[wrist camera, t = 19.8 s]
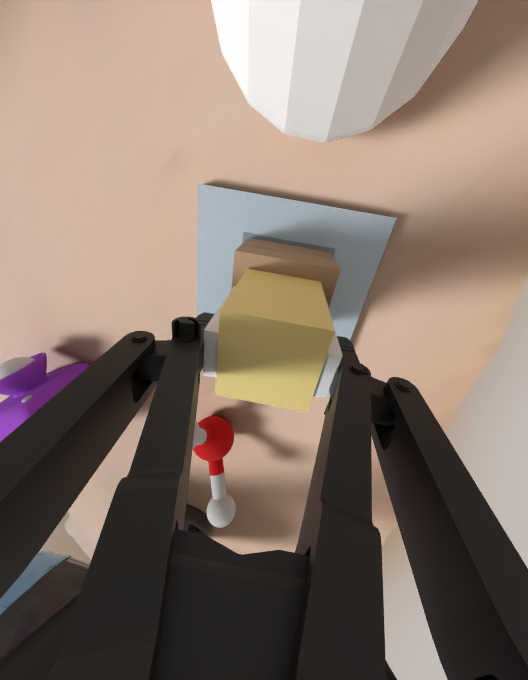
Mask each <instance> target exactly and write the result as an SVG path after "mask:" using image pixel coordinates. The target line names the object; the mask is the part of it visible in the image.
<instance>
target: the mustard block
mask: <svg viewBox="0 0 528 680" xmlns="http://www.w3.org/2000/svg"><path fill="white" fill-rule="evenodd" d="M334 333H335V329H334V325H333V322H332V319H331V315H330V312H329V308H328V305H327V301H326V298H325V295H324V291H323V288H322V284H321V282H320V281H315V280H309V279H304V278H298V277H292V276H287V275H281V274H276V273H270V272H265V271H259V270H253V269H248V268H247V270H246V271H245V273H244V274H243V276H242V277H241V279H240V280H239V282H238V283H237V285H236V286H235V288H234V290H233V291H232V293H231V294H230V296H229V297H228V299H227V300H226V302H225V303H224V305H223V306H222V308H221V309H220V321H219V337H218V354H217V370H216V386H215V395H218V396H223V397H229V398H234V399H239V400H244V401H250V402H255V403H260V404H266V405H271V406H276V407H281V408H287V409H292V410H297V411H302V412H308V409H309V406H310V403H311V400H312V397H313V394H314V391H315V388H316V386H317V383H318V380H319V377H320V374H321V371H322V368H323V365H324V362H325V359H326V356H327V353H328V350H329V348H330V345H331V342H332V339H333V336H334Z"/></svg>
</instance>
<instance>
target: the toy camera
mask: <svg viewBox="0 0 528 680" xmlns="http://www.w3.org/2000/svg"><path fill="white" fill-rule="evenodd" d="M89 366H90V365H89V364H87V363H78V364H74V365H70V366H67V367H64V368H60V369H57V370H55V371H52V372H49V373H46V368H47V357H46V353H39V354H37V355H34V356H32V357H29V358H28V357H19V358H14V359H11V360H8V361H6V362H4V363H3V364H1V365H0V394H3V395H11V396H9V397H8V398H6V399H5V400H4V401H2V402H1V403H0V442H1V441H2V440H3V439H4V438H5V437H7V436H8V435H9V434H10V433H11V432H13V431H14V430H15V429H16V428H17V427H18V426H20V425H21V424H22V423H23V422H24V421H25V420H27V419H28V418H29V417H30V416H31V415H33V414H34V413H35V412H36V411H37V410H38V409H40V408H41V407H42V406H43V405H44V404H45V403H47V402H48V401H49V400H50V399H51V398H53V397H54V396H55V395H56V394H57V393H58V392H60V391H61V390H62V389H63V388H64V387H66V386H67V385H68V384H69V383H70V382H71V381H73V380H74V379H75V378H76V377H77V376H78V375H80V374H81V373H82V372H83V371H84V370H86V369H87V368H88V367H89Z"/></svg>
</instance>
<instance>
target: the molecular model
mask: <svg viewBox="0 0 528 680" xmlns="http://www.w3.org/2000/svg"><path fill="white" fill-rule="evenodd" d="M233 441H234V433H233V429H232V427H231V425H230V424H229V423H228V421H226V420H225V419H223V418H221V417H218V416H210V417H207V418H205V419H203V420H201V421H200V422H199V423H197V422H196V421H195V429H194V438H193V447H192V450H194V452H195V453H196V455H197V456H198V457H200V458H201V459H203V460H206V461H208V462H209V471H210V479H211V488H212V498H211V500H210V501H209V503H208V506H207V518H208V520H209V522H210V523H211V524H212V525H213V526H215V527H218V528H222V527H225V526H227V525H228V524H230V522H231V521H232V520H233V518H234V516H235V512H236V505H235V502H234V499H233V498H232V497H231V496H230V495H229V494H227V492H226V483H225V475H224V467H223V459H222V458H223V457H224V456H225V455H226V454H227V453H228V452H229V451H230V449H231V447H232V445H233Z"/></svg>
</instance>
